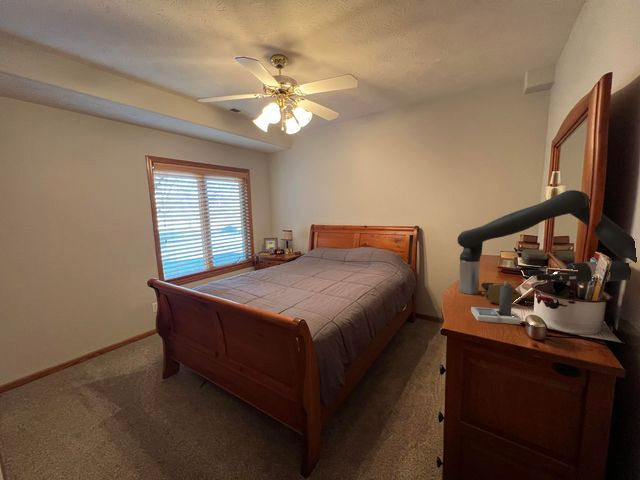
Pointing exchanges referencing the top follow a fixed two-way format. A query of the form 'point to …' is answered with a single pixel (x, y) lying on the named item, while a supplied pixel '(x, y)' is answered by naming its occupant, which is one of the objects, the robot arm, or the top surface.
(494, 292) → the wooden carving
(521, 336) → the top surface
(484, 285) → the carrying case or bag
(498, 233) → the robot arm
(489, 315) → the duct plate
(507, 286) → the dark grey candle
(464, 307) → the top surface
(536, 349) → the top surface
